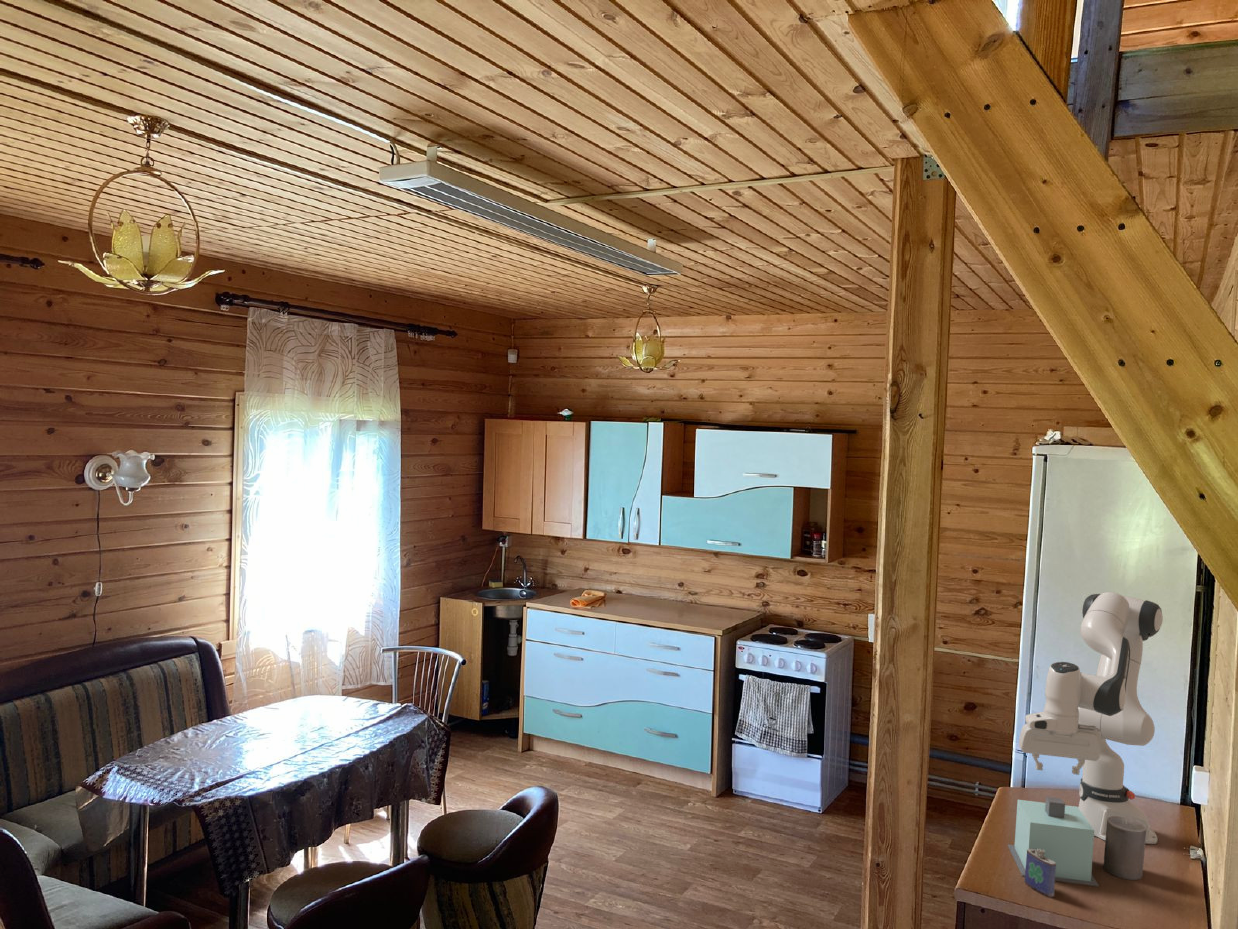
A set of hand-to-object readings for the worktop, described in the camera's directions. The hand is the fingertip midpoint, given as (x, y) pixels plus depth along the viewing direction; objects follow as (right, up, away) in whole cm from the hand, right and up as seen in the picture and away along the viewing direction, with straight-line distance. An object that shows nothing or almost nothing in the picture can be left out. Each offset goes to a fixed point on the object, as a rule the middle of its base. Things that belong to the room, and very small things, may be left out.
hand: (1057, 771), depth 256 cm
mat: (-1, -26, +1) cm, 26 cm away
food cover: (-1, -26, +1) cm, 26 cm away
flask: (-11, -27, -13) cm, 32 cm away
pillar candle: (+18, -28, -1) cm, 33 cm away
